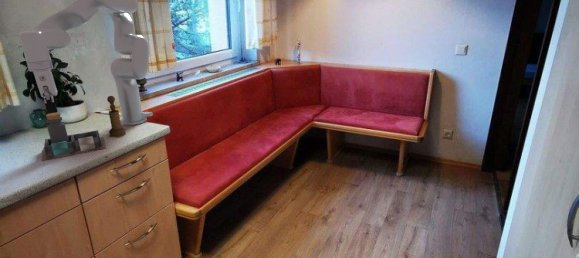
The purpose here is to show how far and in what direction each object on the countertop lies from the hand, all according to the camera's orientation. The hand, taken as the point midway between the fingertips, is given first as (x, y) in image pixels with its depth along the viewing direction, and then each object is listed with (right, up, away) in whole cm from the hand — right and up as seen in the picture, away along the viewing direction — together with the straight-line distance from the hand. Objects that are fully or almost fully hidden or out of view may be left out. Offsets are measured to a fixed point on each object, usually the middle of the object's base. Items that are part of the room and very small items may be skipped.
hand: (53, 109), depth 134 cm
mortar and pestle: (+14, -10, +22) cm, 28 cm away
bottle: (0, -16, +5) cm, 17 cm away
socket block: (+4, -16, +8) cm, 18 cm away
